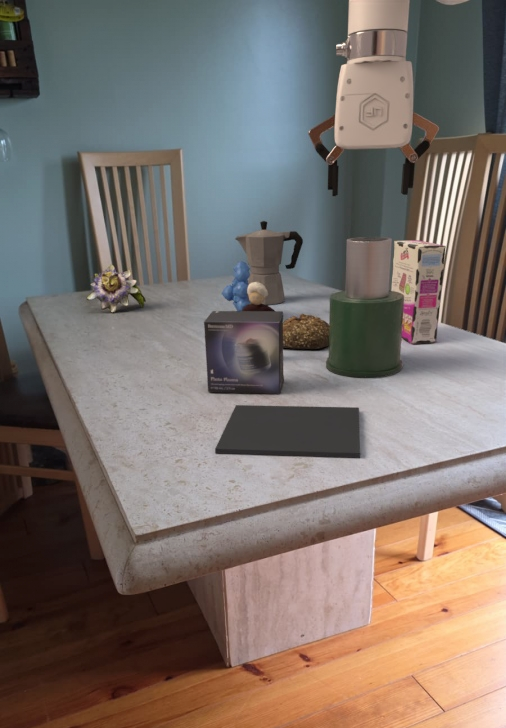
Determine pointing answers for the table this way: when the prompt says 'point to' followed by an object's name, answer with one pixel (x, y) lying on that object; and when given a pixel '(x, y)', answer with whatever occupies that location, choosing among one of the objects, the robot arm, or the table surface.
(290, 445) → the mat
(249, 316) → the small box
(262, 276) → the coffeepot
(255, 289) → the grandmother figurine
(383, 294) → the steel cup
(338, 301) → the green flanged canister
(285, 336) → the bread roll
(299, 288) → the table surface
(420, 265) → the candy bar box
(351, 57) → the robot arm
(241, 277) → the grapes
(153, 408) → the table surface
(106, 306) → the passion flower
